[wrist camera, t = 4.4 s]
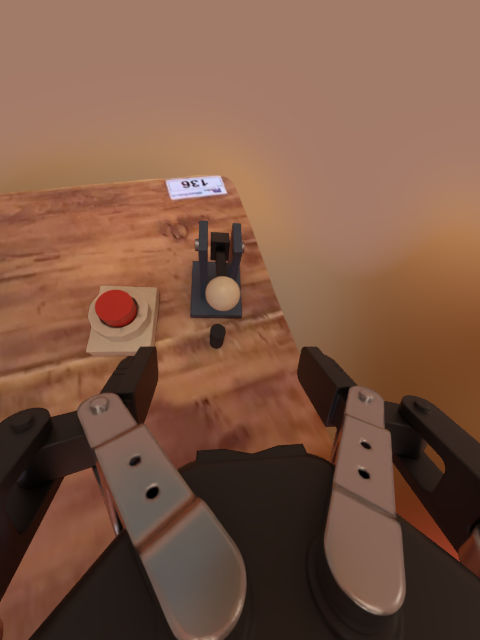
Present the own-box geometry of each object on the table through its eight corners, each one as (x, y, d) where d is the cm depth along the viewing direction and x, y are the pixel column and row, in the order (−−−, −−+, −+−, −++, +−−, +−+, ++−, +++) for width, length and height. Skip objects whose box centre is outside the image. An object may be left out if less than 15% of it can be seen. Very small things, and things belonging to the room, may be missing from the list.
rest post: (222, 348, 35) (225, 338, 30) (209, 348, 34) (210, 338, 29) (222, 336, 35) (225, 323, 31) (209, 336, 35) (210, 323, 30)
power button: (134, 327, 30) (129, 321, 28) (98, 326, 29) (91, 320, 27) (139, 297, 31) (134, 289, 30) (105, 296, 31) (98, 288, 29)
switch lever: (240, 318, 21) (243, 289, 19) (205, 318, 21) (205, 288, 18) (230, 254, 30) (232, 230, 28) (206, 252, 30) (206, 228, 28)
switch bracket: (240, 318, 37) (256, 273, 25) (190, 317, 36) (183, 270, 24) (238, 267, 41) (251, 207, 29) (193, 265, 40) (187, 202, 28)
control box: (153, 355, 33) (146, 346, 29) (93, 356, 32) (77, 347, 27) (160, 294, 37) (154, 279, 32) (106, 293, 35) (93, 277, 31)
